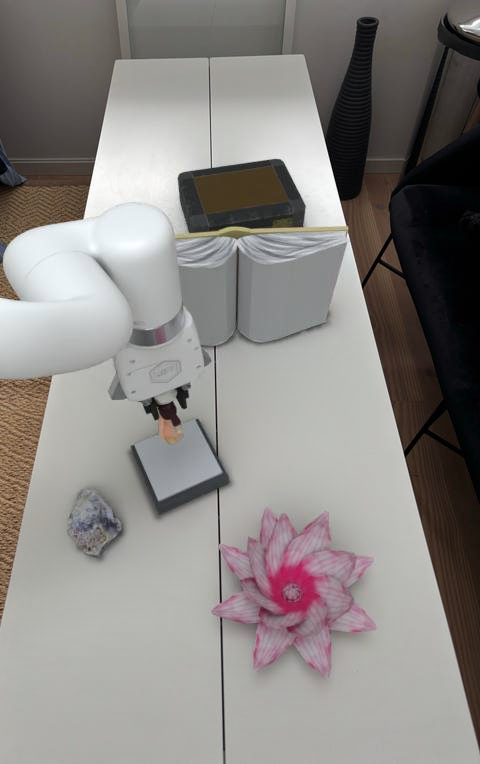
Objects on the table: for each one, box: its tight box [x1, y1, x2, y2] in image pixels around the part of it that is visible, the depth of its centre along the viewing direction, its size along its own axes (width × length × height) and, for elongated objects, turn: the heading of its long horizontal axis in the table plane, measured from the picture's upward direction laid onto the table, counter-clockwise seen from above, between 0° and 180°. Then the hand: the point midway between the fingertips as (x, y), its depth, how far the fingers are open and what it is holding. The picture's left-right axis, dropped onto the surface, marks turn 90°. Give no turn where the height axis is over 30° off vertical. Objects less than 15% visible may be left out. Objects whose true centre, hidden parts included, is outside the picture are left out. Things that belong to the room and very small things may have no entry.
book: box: [174, 225, 350, 347], centre depth 96 cm, size 36×8×24 cm, turn 95°
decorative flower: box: [210, 505, 378, 679], centre depth 72 cm, size 21×21×15 cm
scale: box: [130, 418, 230, 516], centre depth 88 cm, size 12×12×3 cm
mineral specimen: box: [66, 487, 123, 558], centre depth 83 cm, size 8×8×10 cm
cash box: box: [177, 158, 307, 233], centre depth 123 cm, size 25×20×8 cm
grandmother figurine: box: [154, 388, 184, 445], centre depth 75 cm, size 8×4×13 cm, turn 40°
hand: (166, 405), depth 74 cm, fingers closed on grandmother figurine, 3 cm apart
